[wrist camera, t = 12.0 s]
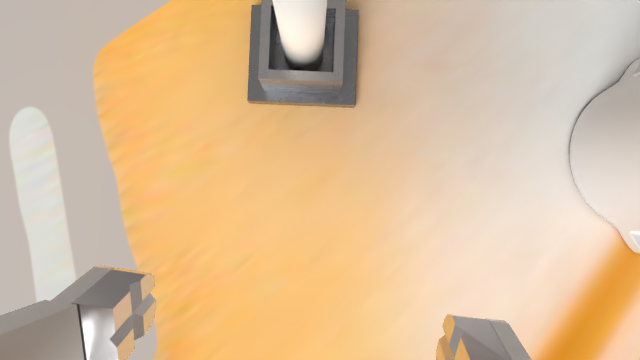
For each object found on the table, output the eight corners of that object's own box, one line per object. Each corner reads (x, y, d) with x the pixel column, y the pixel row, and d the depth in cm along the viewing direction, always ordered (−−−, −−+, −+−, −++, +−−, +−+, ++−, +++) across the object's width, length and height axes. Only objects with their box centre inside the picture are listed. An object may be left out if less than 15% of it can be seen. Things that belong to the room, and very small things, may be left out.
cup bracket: (357, 15, 34) (363, -12, 29) (353, 107, 33) (360, 94, 29) (253, 10, 33) (244, -18, 29) (249, 103, 33) (239, 89, 29)
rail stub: (323, 36, 33) (329, -43, 22) (322, 74, 32) (327, 15, 21) (285, 34, 32) (270, -45, 21) (283, 73, 32) (268, 12, 21)
